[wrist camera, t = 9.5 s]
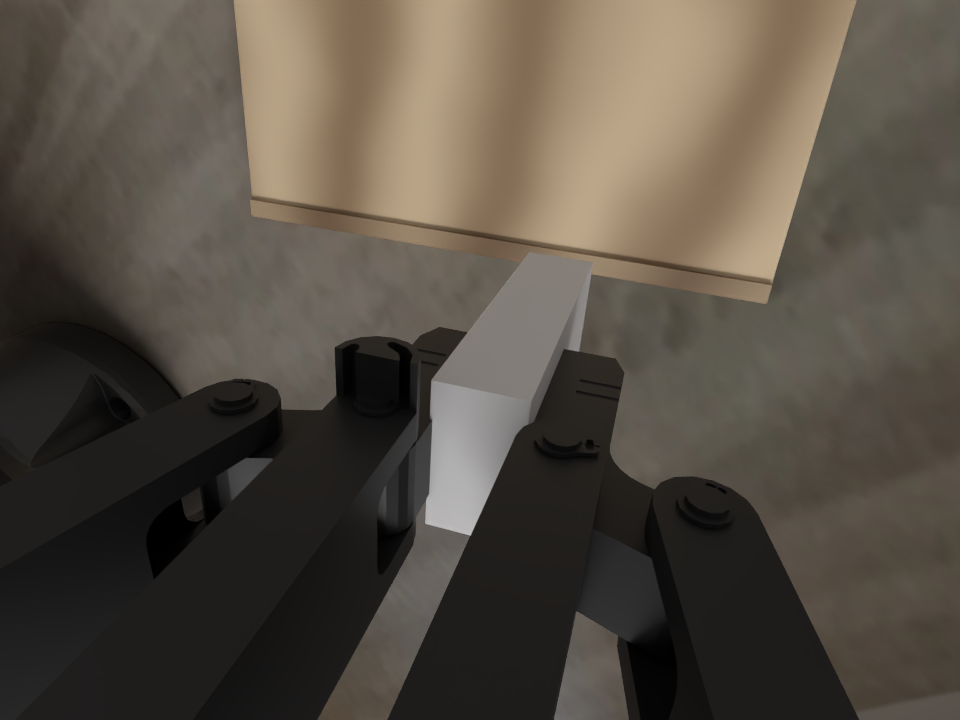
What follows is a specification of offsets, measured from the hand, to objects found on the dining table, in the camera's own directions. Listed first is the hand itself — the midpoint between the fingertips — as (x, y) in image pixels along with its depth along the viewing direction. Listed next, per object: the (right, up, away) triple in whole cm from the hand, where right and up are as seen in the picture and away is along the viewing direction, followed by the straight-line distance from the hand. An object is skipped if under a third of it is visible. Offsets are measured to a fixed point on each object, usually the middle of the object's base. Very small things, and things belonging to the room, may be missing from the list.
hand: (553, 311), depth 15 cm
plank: (-1, +8, +9) cm, 12 cm away
